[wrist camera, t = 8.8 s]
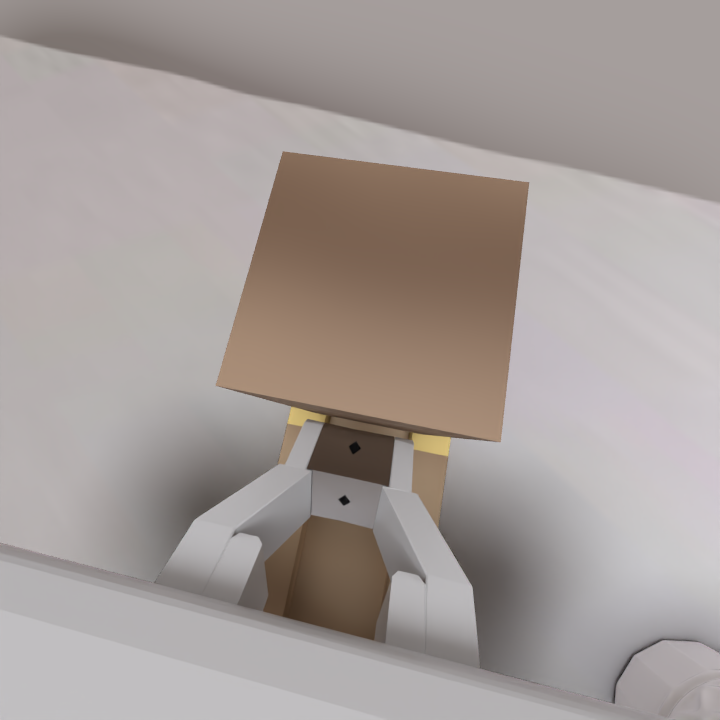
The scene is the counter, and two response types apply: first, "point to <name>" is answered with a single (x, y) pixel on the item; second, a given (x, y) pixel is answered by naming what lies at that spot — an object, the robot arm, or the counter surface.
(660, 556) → the counter surface
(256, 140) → the counter surface
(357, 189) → the plate
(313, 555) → the beam
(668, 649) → the white cup
